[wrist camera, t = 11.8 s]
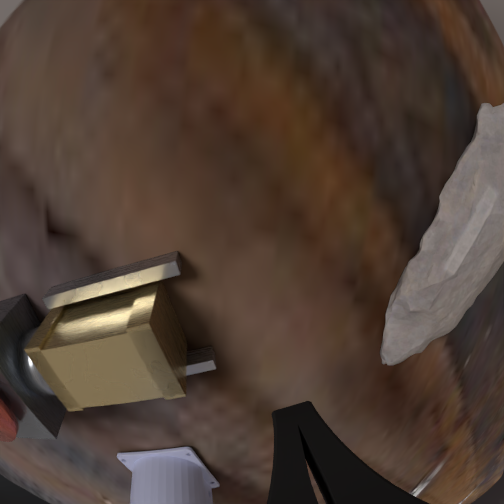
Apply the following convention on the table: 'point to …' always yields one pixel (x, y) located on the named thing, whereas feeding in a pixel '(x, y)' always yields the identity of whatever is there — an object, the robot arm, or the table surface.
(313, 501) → the robot arm
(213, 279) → the table surface
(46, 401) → the valve
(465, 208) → the stone tool
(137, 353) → the gold flanged block
